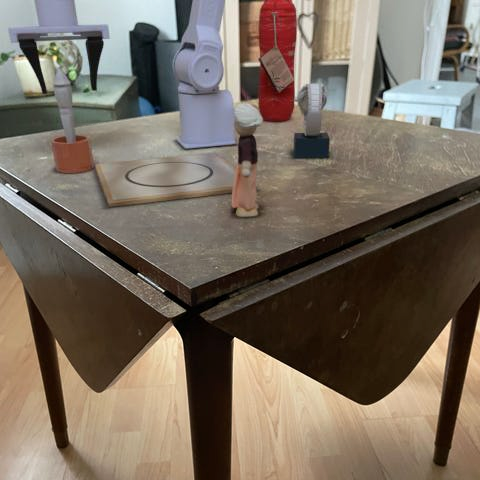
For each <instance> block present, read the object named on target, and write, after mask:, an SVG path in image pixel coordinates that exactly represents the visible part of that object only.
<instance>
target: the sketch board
mask: <svg viewBox="0 0 480 480" xmlns="http://www.w3.org/2000/svg"><path fill="white" fill-rule="evenodd" d="M94 168H95V171H96V174H97V177H98V179H99V183H100V185H101V188H102V191H103V194H104V197H105V200H106V202H107V205H108V207H109V208H114V207H115V208H116V207H122V206H131V205H140V204H148V203H157V202H166V201H174V200H182V199H192V198H200V197H210V196H217V195H226V194H232V190H233V184H234V178H235V173H236V168H235V167H234V166H233V165H231V163H229V162H228V161H227V160H226V159H225V158H223V157H222V156H221V155H220V154H219V153H217V152H207V153H197V154H187V155H186V154H185V155H176V156H165V157H155V158H145V159H144V158H143V159H135V160H134V159H133V160H123V161H112V162H104V163H103V162H102V163H94Z"/></svg>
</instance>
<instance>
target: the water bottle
mask: <svg viewBox="0 0 480 480" xmlns="http://www.w3.org/2000/svg"><path fill="white" fill-rule="evenodd" d="M296 8H297V7H296V6H295V4H294V2H293V0H264V1H263V3H262V5H261V7H260V9H259V15H258V46H259V49H258V50H259V57H258V58H257V60H258V62H259V80H258V111H259V113H260V115H261V117H262V118H263V121H267V122H275V123H276V122H277V123H278V122H285V121H288V120H290V119H291V118H292V115H293V113H294V109H295V97H296V90H295V89H296V88H295V55H296V47H297V46H296V45H297V38H298V37H297V32H298V30H297V29H298V19H297V9H296Z"/></svg>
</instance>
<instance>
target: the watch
mask: <svg viewBox="0 0 480 480" xmlns="http://www.w3.org/2000/svg"><path fill="white" fill-rule="evenodd" d="M327 101H328V91H327V89H326V88H325V85H324V84H323V83H306V84H304V85H303V86H302V87H300V89H299V90H298V91H297V95H296V96H295V100H294V103H296V102H297V105H298V107H299V109H300V111H299V112H300V114H301V116H302V117H303V131H304V132H294V133H293V156H294V159H329V155H330V143H331V141H330V140H331V138H330V136H329V133H328V132H321V129H322V119H323V113H322V112H323V109H324V107H325V106H326V104H327V103H328V102H327Z"/></svg>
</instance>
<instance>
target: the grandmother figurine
mask: <svg viewBox="0 0 480 480" xmlns="http://www.w3.org/2000/svg"><path fill="white" fill-rule="evenodd" d="M263 122H264V119H263V118H262V116H261V113H260V110H259V109H258V108H256V107H255V106H253V105H252V104H251V103H250V104H249V103H247V102H246V103H245V102H244V103H243V102H242V103H240V104H238V105H236V106H235V107H234V131H235V132H236V134H238V135H239V137H238V142H237V143H238V144H237V166H236V168H235V169H236V173H235V178H234V184H233V190H232V193H231V201H230V206H231V208H232V209H234V208H235V209H236V211H235V216H237V217H239V218H249V217H256V216H258V215H259V210H258V209H259V208H260V206H259V204H258V203H257V201H258V197H257V195H258V194H257V184H256V181H257V174H258V173H257V172H258V160H259V159H258V157H259V153H258V147H257V145H258V144H257V140H256V137H255V136H254V134H255V133H256V130H257V128H258V127H261V126H262V124H263Z"/></svg>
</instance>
